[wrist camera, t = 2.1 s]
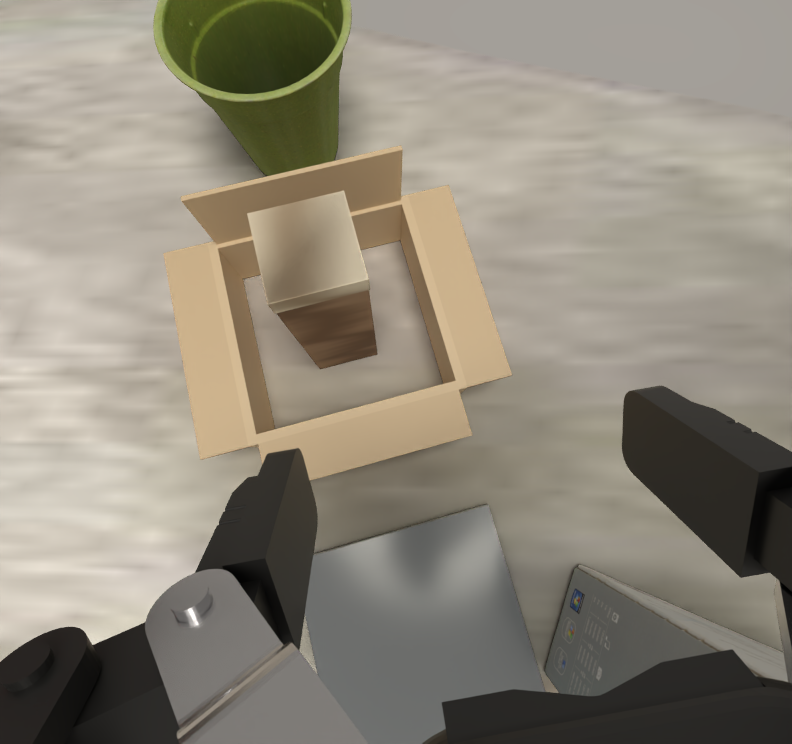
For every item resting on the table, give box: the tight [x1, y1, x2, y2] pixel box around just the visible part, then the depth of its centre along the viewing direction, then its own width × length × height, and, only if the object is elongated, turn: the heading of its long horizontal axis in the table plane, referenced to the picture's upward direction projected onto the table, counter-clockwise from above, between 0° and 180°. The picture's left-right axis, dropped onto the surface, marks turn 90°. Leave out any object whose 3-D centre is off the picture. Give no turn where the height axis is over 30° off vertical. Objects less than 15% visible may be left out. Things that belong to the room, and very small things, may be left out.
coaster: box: [305, 504, 545, 744], centre depth 29 cm, size 14×14×1 cm
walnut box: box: [247, 191, 377, 369], centre depth 26 cm, size 5×5×14 cm
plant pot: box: [153, 0, 352, 176], centre depth 31 cm, size 12×12×11 cm
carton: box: [163, 146, 512, 480], centre depth 28 cm, size 20×17×10 cm
